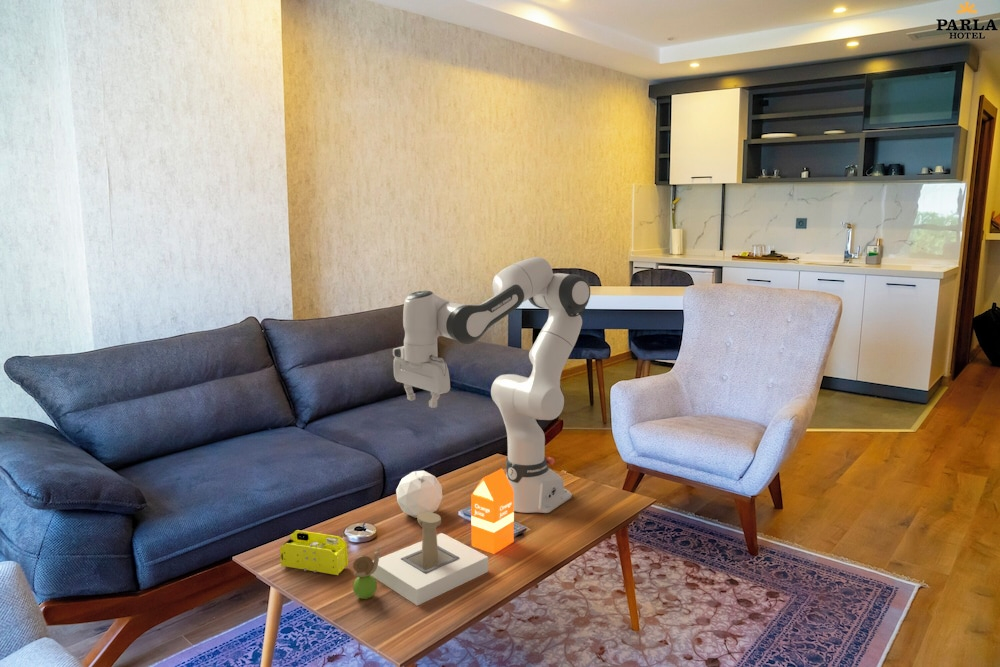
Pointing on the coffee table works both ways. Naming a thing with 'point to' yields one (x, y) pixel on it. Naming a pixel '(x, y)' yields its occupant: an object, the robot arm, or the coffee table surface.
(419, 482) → the geodesic sphere
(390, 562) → the socket board
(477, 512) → the orange juice
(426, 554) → the handle
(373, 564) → the snail figurine
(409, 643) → the coffee table surface
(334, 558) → the yellow toy chassis
